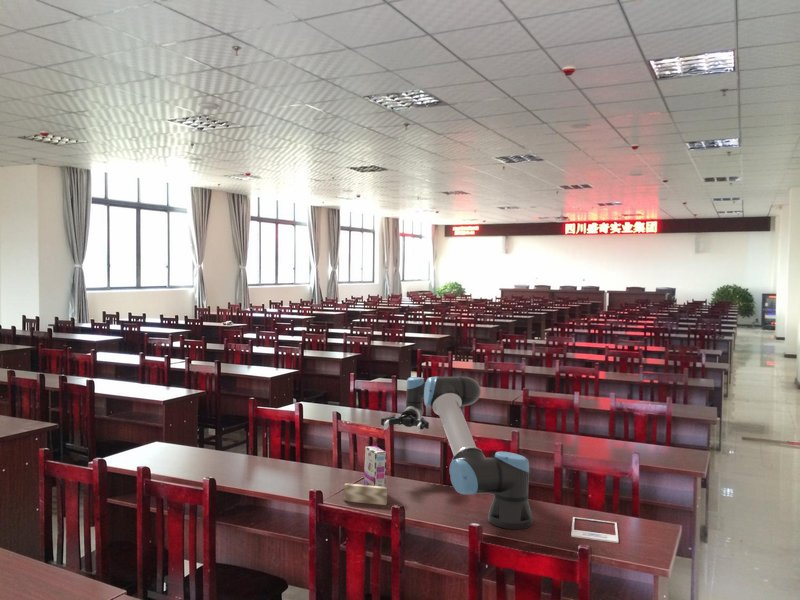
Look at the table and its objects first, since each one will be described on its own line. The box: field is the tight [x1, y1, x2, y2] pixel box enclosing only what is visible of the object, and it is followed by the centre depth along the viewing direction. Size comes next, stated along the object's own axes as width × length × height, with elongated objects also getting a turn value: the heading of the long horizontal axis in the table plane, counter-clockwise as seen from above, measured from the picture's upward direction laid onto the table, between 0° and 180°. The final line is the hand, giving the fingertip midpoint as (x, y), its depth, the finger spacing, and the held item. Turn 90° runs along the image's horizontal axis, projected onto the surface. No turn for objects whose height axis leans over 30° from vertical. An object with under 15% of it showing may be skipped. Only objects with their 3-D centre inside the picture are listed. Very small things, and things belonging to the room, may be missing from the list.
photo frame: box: [570, 516, 619, 544], centre depth 213 cm, size 15×1×18 cm
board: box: [343, 482, 388, 506], centre depth 234 cm, size 16×2×6 cm, turn 78°
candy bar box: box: [363, 445, 387, 487], centre depth 247 cm, size 11×5×16 cm, turn 25°
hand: (401, 428), depth 256 cm, fingers open, 13 cm apart
